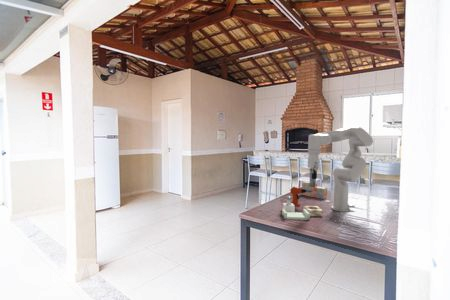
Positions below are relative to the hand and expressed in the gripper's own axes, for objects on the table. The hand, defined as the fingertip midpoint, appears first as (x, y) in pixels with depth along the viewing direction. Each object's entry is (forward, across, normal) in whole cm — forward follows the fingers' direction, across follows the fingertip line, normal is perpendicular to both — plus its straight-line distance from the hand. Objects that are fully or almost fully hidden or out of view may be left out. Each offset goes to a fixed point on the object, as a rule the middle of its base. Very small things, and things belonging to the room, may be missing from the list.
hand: (313, 178), depth 159 cm
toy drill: (+25, -17, -3) cm, 31 cm away
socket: (+25, 0, +1) cm, 25 cm away
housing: (+25, -4, -15) cm, 30 cm away
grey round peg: (+6, 0, 0) cm, 6 cm away
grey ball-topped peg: (+25, -4, -15) cm, 29 cm away
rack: (+25, +8, -13) cm, 30 cm away
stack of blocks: (+25, -51, +17) cm, 59 cm away
